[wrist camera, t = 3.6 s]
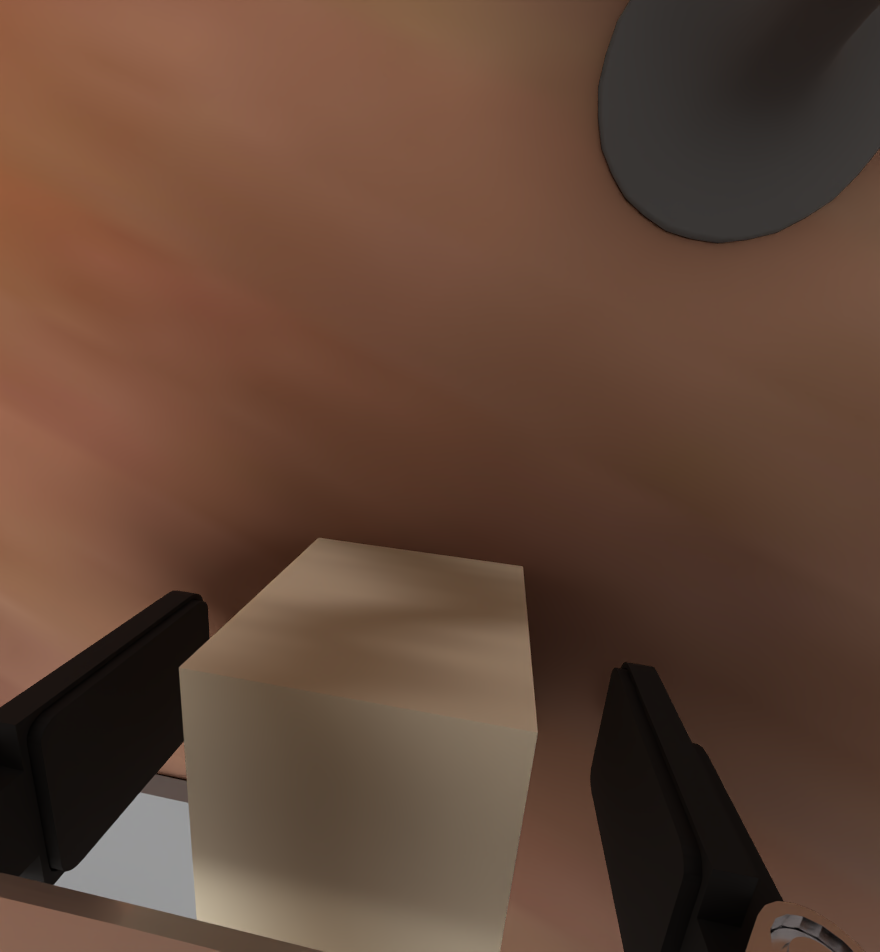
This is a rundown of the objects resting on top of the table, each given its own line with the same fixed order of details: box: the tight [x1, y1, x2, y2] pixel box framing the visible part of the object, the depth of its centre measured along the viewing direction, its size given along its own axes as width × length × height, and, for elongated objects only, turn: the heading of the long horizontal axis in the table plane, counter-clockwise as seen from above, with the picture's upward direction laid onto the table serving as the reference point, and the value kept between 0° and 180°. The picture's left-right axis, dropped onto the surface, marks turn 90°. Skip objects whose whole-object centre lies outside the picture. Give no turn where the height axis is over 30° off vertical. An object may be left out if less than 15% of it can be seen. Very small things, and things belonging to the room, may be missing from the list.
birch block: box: [179, 538, 538, 952], centre depth 9 cm, size 5×5×5 cm
